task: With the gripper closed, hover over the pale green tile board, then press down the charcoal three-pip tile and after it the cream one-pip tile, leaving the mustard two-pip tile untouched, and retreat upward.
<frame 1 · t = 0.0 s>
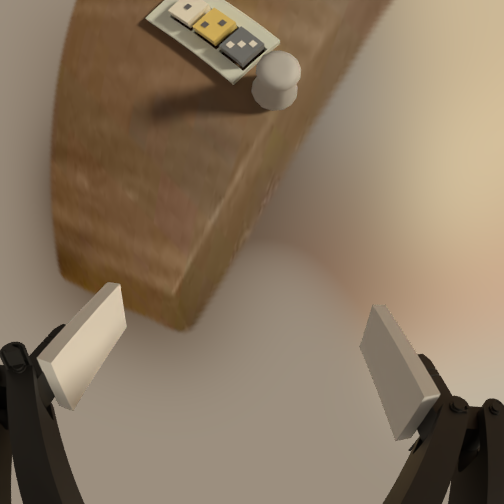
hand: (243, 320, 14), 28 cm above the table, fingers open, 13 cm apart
tile 1: (189, 9, 28), point 3 cm above the table, slide at 0.0 cm
tile board: (210, 28, 32), on the table
salt shaker: (273, 93, 35), on the table
tile 3: (242, 46, 30), point 3 cm above the table, slide at 0.0 cm
tile 2: (214, 26, 29), point 3 cm above the table, slide at 0.0 cm
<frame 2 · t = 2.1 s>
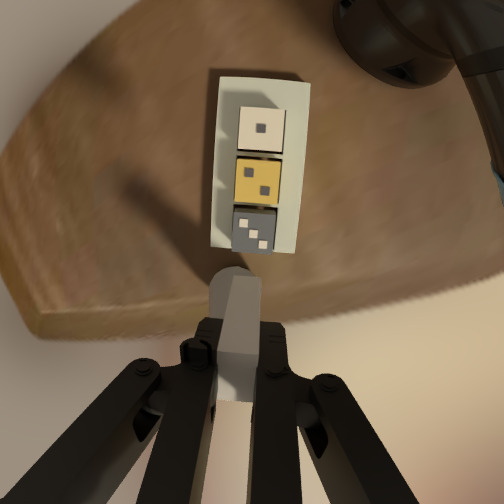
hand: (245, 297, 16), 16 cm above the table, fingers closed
tile 1: (261, 129, 26), point 3 cm above the table, slide at 0.0 cm
tile board: (259, 163, 30), on the table
salt shaker: (236, 281, 35), on the table
tile 3: (253, 230, 29), point 3 cm above the table, slide at 0.0 cm
tile 2: (257, 180, 27), point 3 cm above the table, slide at 0.0 cm
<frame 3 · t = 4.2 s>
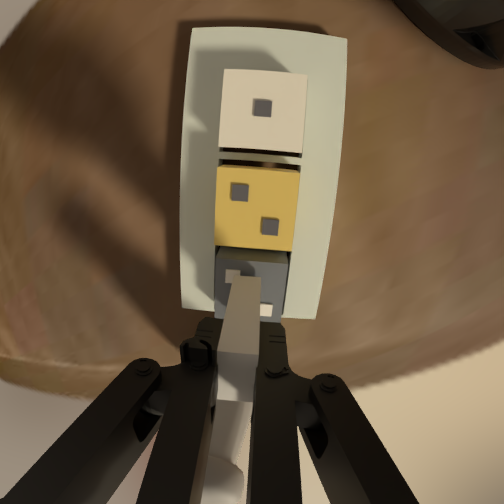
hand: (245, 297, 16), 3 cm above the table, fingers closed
tile 1: (263, 111, 13), point 3 cm above the table, slide at 0.0 cm
tile board: (259, 173, 17), on the table
salt shaker: (226, 350, 22), on the table
tile 3: (250, 285, 18), point 2 cm above the table, slide at 0.7 cm, touching gripper
tile 2: (256, 206, 15), point 3 cm above the table, slide at 0.0 cm
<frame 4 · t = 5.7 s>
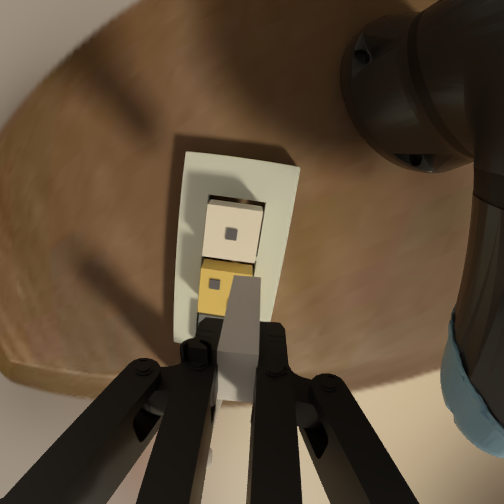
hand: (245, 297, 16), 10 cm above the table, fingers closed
tile 1: (232, 230, 22), point 3 cm above the table, slide at 0.0 cm
tile board: (229, 259, 26), on the table
tile 3: (220, 329, 27), point 2 cm above the table, slide at 1.2 cm
tile 2: (224, 289, 24), point 3 cm above the table, slide at 0.0 cm
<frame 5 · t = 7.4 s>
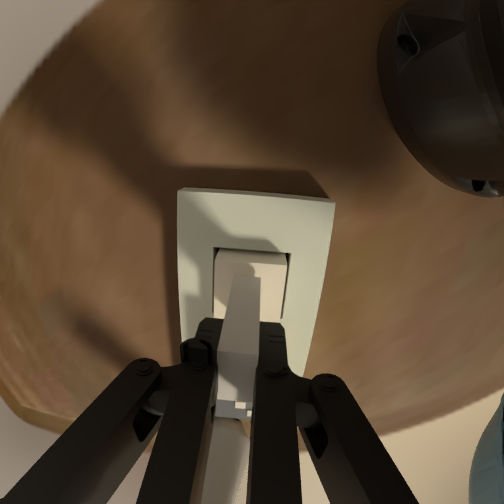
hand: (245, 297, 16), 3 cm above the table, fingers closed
tile 1: (249, 287, 18), point 2 cm above the table, slide at 1.1 cm, touching gripper
tile board: (247, 319, 21), on the table
salt shaker: (223, 425, 26), on the table
tile 3: (241, 395, 21), point 2 cm above the table, slide at 1.2 cm
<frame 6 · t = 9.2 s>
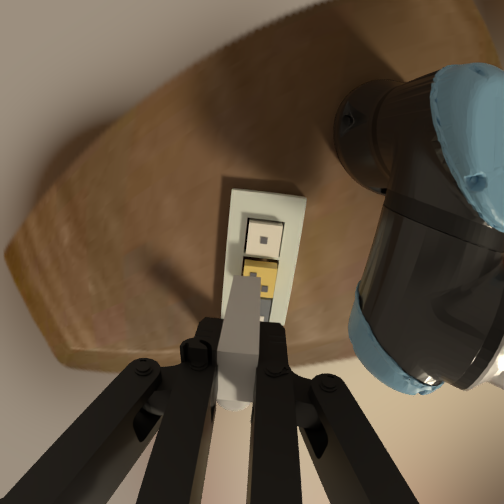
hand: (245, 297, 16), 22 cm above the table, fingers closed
tile 1: (263, 238, 36), point 2 cm above the table, slide at 1.2 cm
tile board: (260, 259, 39), on the table
salt shaker: (239, 339, 44), on the table
tile 3: (254, 307, 40), point 2 cm above the table, slide at 1.2 cm
tile 2: (259, 279, 37), point 3 cm above the table, slide at 0.0 cm
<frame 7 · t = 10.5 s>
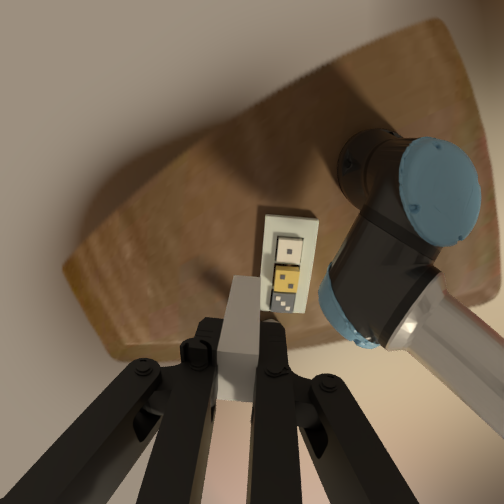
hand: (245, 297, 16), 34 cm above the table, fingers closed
tile 1: (289, 249, 50), point 2 cm above the table, slide at 1.2 cm
tile board: (286, 264, 53), on the table
tile 3: (282, 300, 53), point 2 cm above the table, slide at 1.2 cm
tile 2: (286, 279, 51), point 3 cm above the table, slide at 0.0 cm
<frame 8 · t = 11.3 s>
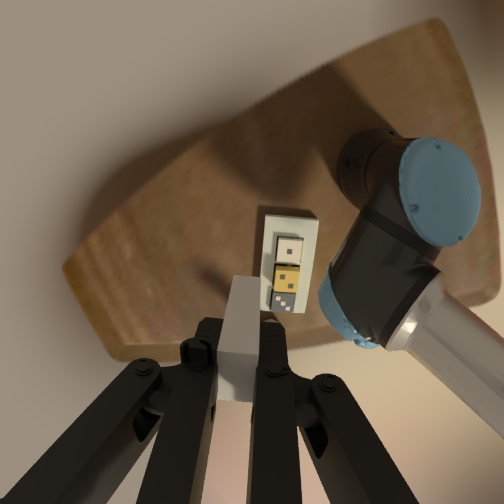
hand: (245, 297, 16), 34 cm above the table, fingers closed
tile 1: (289, 249, 50), point 2 cm above the table, slide at 1.2 cm
tile board: (286, 264, 53), on the table
tile 3: (282, 300, 53), point 2 cm above the table, slide at 1.2 cm
tile 2: (286, 279, 51), point 3 cm above the table, slide at 0.0 cm
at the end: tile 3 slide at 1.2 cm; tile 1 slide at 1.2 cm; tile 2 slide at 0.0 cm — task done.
